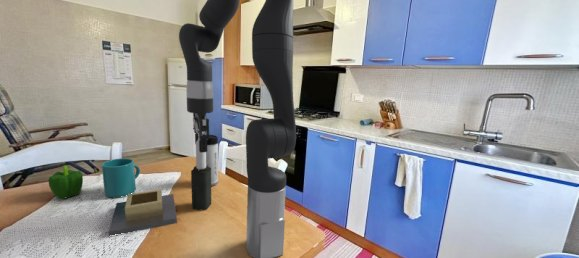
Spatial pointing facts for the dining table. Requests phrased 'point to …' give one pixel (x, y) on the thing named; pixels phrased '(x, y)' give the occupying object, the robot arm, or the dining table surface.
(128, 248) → the dining table surface
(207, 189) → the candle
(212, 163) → the travel mug
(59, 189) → the bell pepper
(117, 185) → the cup
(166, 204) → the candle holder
